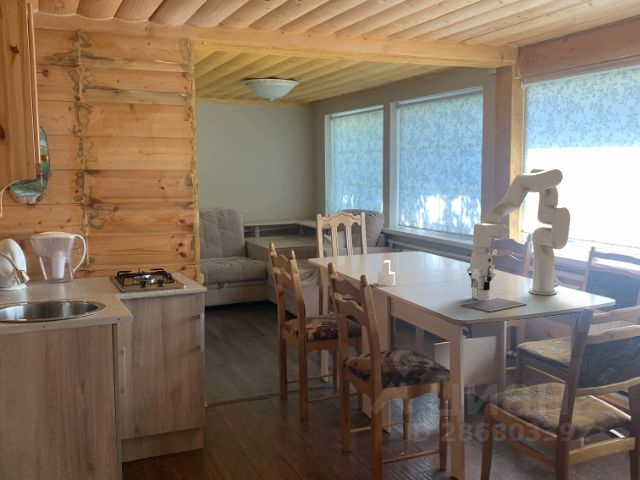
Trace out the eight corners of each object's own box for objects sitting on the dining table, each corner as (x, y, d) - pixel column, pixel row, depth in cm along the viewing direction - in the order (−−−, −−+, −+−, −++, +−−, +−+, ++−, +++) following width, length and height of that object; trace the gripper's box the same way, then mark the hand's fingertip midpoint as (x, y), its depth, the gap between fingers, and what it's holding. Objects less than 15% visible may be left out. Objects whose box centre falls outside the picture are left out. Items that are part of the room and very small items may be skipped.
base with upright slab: (394, 286, 325) (394, 262, 323) (376, 285, 327) (377, 262, 325) (396, 282, 334) (396, 260, 332) (378, 282, 335) (379, 259, 334)
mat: (497, 298, 294) (497, 297, 294) (526, 305, 281) (526, 303, 281) (460, 305, 280) (460, 304, 280) (489, 312, 267) (489, 310, 267)
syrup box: (489, 299, 293) (490, 268, 291) (477, 300, 291) (478, 268, 289) (482, 297, 298) (483, 266, 296) (471, 297, 296) (472, 266, 295)
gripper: (502, 251, 287) (500, 290, 289) (472, 247, 301) (471, 285, 303) (490, 253, 283) (489, 292, 285) (461, 248, 297) (460, 286, 299)
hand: (480, 288), depth 294 cm, fingers closed on syrup box, 6 cm apart
